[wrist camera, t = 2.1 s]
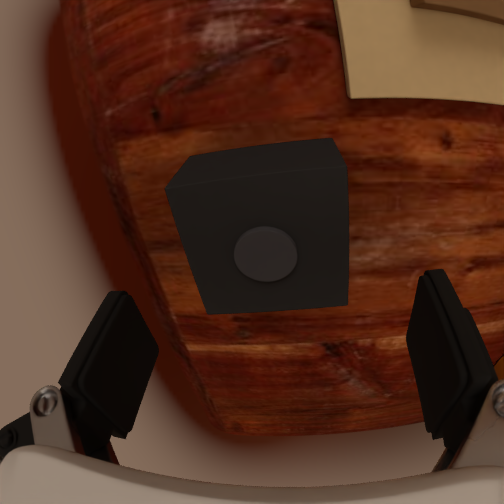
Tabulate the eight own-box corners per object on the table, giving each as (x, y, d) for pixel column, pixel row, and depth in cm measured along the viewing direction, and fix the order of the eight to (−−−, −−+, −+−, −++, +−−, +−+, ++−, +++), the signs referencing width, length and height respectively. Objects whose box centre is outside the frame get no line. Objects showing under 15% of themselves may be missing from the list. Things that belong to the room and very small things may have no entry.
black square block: (219, 267, 18) (205, 319, 14) (189, 156, 14) (161, 191, 11) (338, 257, 17) (348, 310, 13) (332, 137, 13) (348, 169, 10)
